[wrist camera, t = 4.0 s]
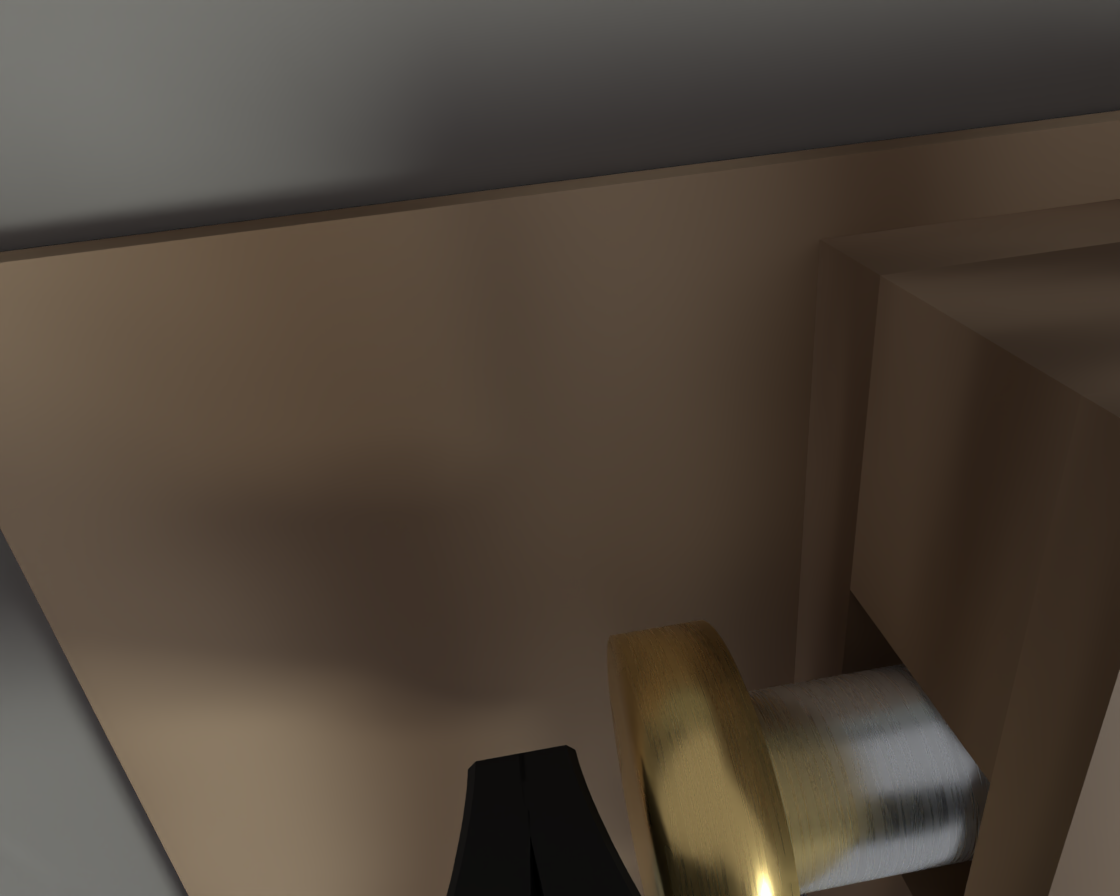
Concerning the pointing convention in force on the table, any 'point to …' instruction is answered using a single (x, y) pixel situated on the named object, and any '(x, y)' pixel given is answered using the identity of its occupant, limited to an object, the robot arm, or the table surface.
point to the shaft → (781, 772)
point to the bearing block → (583, 488)
